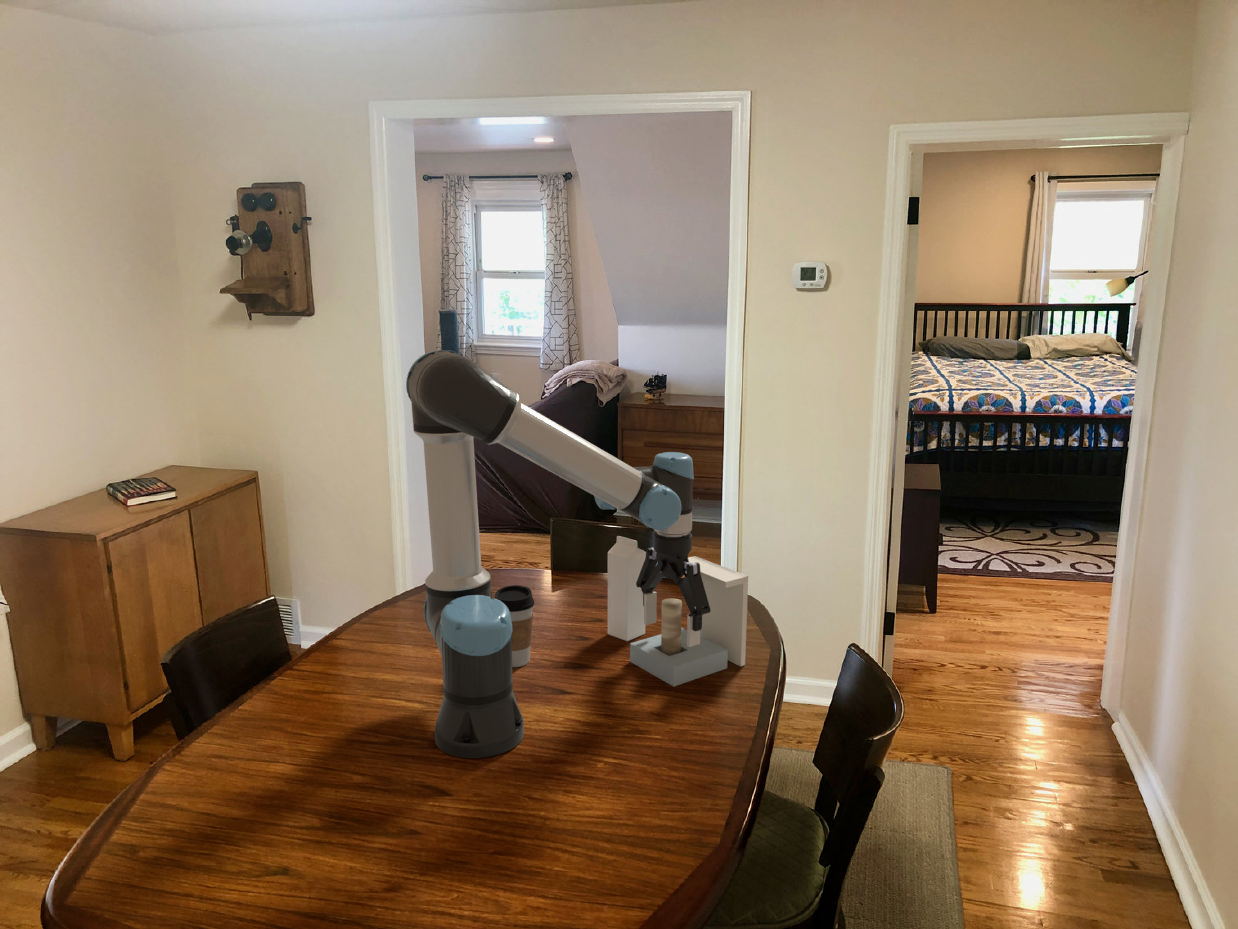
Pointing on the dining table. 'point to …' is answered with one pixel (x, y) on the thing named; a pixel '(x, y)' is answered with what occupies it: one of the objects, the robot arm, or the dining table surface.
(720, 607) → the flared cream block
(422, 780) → the dining table surface
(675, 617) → the birch peg
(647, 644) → the socket block
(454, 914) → the dining table surface
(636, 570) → the milk
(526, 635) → the coffee cup
